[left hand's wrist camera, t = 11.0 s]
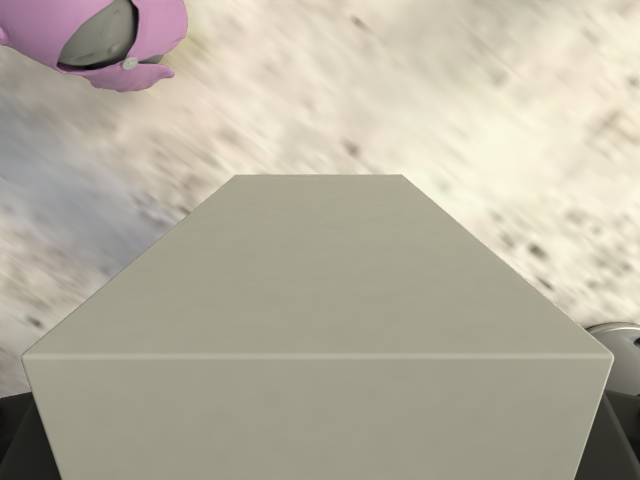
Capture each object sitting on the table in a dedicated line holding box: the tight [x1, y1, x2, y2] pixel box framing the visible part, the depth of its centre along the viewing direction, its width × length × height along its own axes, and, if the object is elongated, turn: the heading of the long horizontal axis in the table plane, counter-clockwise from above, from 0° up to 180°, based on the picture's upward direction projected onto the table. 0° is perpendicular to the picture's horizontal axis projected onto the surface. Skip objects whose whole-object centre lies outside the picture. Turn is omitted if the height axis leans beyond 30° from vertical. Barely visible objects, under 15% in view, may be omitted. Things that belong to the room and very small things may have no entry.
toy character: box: [0, 0, 188, 92], centre depth 24 cm, size 12×10×20 cm
